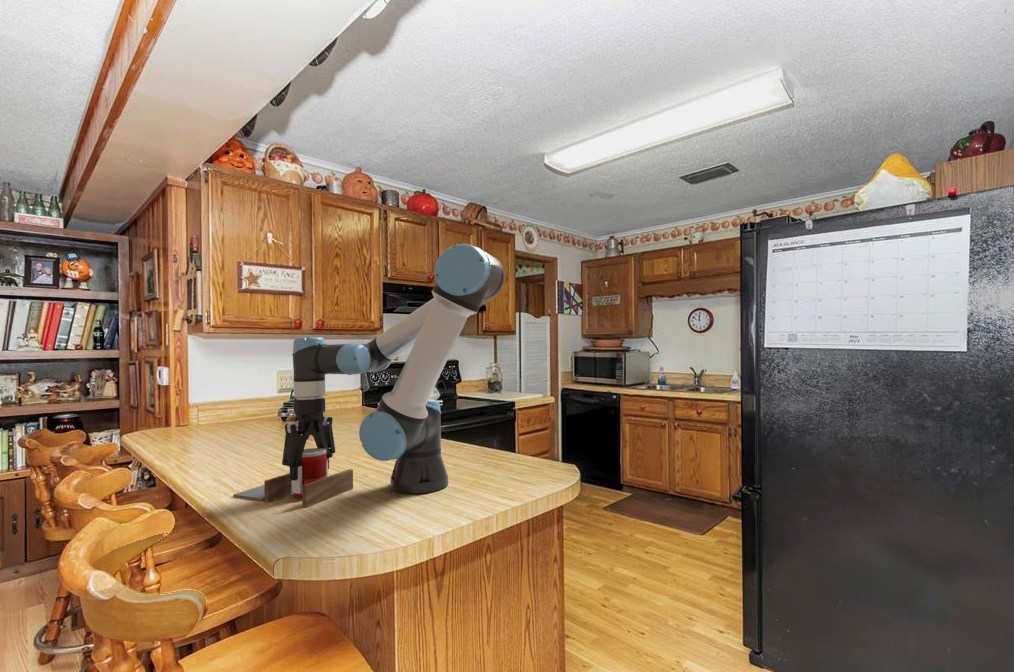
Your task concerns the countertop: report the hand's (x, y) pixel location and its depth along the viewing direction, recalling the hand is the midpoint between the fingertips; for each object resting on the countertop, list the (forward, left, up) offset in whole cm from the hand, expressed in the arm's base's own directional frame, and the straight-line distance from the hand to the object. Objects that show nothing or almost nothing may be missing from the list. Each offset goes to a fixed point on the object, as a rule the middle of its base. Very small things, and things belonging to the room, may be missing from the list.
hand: (310, 487), depth 124 cm
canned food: (0, 0, -2) cm, 2 cm away
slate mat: (+12, +3, -2) cm, 13 cm away
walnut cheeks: (0, 0, -2) cm, 2 cm away
